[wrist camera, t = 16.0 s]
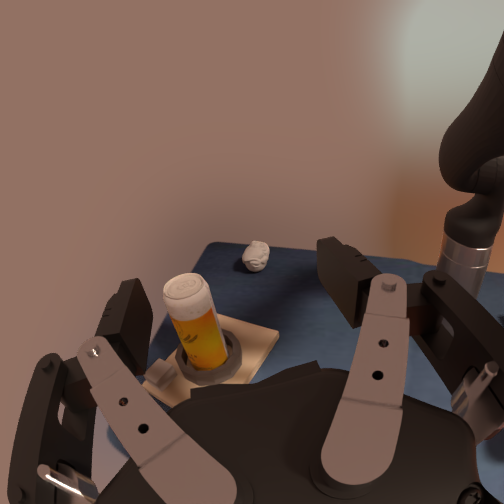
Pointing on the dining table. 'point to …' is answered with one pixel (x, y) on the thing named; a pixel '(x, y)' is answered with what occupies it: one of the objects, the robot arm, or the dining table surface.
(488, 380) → the robot arm
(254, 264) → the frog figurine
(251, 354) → the board
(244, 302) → the dining table surface
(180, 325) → the beer can
